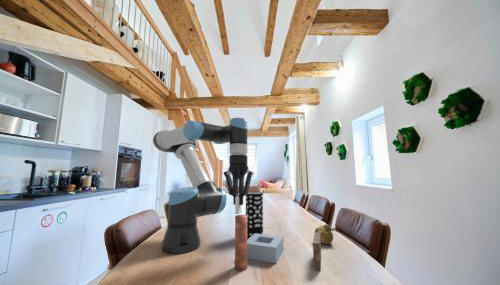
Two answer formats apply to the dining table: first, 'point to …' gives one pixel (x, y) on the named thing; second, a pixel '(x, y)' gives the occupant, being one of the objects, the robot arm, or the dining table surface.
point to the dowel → (241, 242)
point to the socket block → (265, 247)
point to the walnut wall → (317, 251)
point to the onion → (325, 233)
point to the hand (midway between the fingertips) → (238, 213)
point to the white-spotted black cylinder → (254, 213)
